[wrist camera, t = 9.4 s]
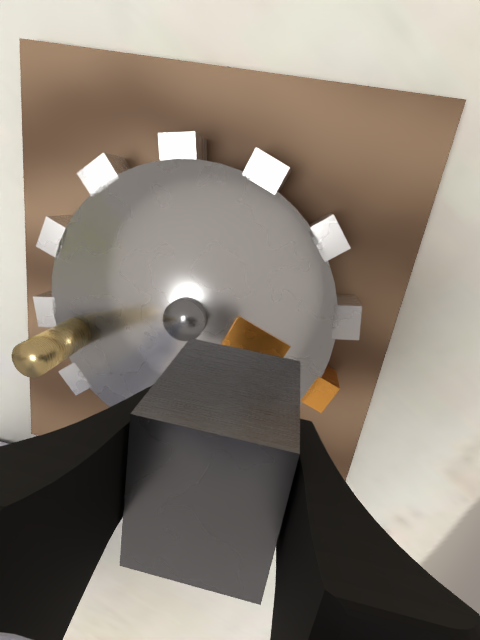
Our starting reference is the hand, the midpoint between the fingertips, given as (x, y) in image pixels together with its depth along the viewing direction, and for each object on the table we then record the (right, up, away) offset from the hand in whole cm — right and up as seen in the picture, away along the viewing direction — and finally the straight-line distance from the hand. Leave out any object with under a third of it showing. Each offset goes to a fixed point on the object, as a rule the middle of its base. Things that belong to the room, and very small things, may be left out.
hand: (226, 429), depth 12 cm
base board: (-2, +5, +9) cm, 10 cm away
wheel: (-2, +4, +8) cm, 9 cm away
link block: (0, 0, +2) cm, 2 cm away
